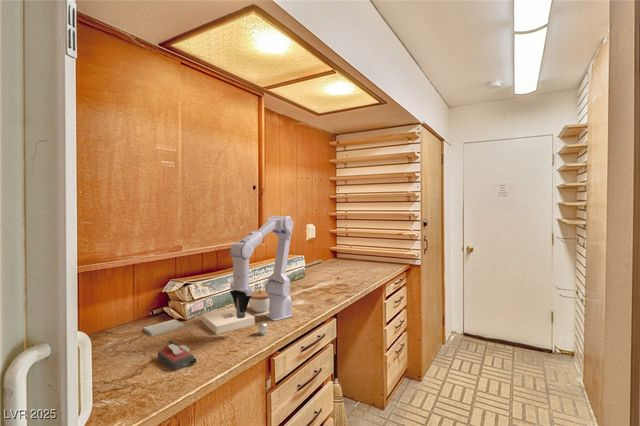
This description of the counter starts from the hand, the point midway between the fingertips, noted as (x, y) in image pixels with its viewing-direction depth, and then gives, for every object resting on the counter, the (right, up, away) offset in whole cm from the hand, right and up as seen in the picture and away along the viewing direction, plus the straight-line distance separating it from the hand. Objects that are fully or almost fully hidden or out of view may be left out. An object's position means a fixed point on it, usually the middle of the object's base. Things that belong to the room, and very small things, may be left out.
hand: (240, 310), depth 120 cm
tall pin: (0, -2, 0) cm, 2 cm away
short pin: (+8, -10, +2) cm, 12 cm away
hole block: (-8, -9, +12) cm, 17 cm away
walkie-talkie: (-17, -10, -17) cm, 26 cm away
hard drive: (-32, -9, +6) cm, 34 cm away
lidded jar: (+2, -9, +28) cm, 29 cm away
